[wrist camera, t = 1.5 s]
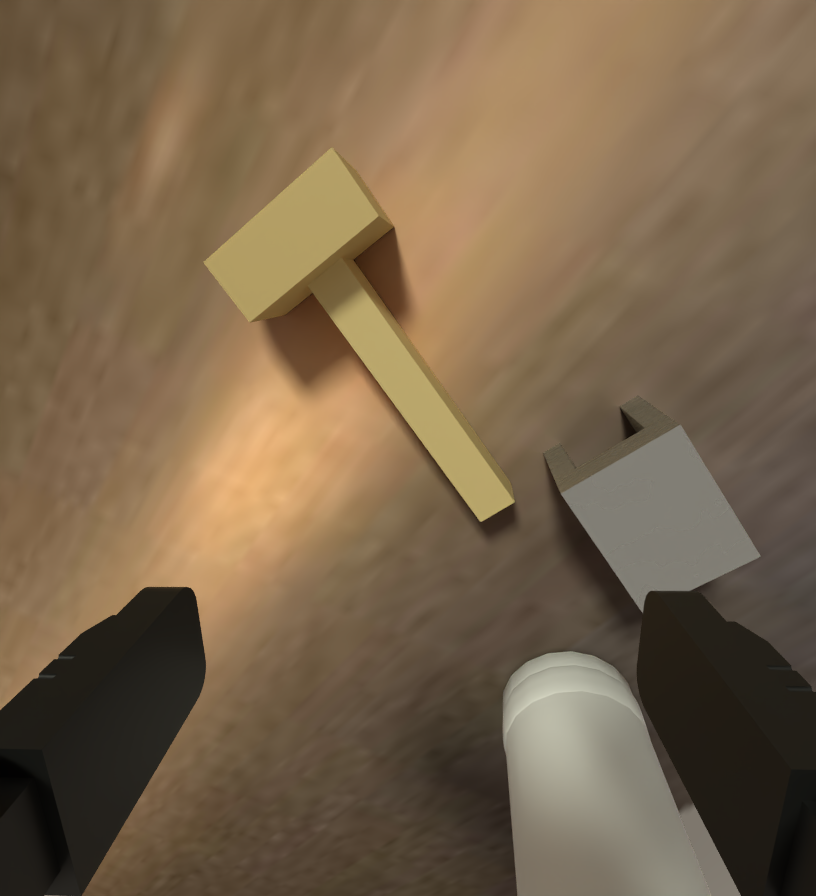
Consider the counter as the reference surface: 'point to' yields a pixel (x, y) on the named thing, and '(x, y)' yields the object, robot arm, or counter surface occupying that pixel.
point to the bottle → (589, 787)
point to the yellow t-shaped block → (352, 309)
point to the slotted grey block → (653, 507)
